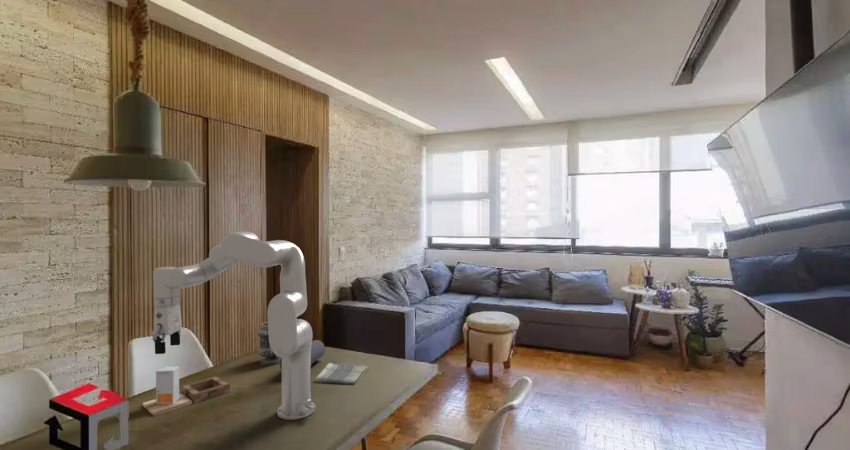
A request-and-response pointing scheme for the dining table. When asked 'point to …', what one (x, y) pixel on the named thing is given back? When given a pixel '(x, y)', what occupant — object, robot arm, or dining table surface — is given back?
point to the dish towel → (341, 374)
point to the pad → (166, 405)
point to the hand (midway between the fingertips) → (168, 349)
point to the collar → (216, 390)
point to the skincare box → (167, 385)
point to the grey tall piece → (266, 347)
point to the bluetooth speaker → (314, 351)
